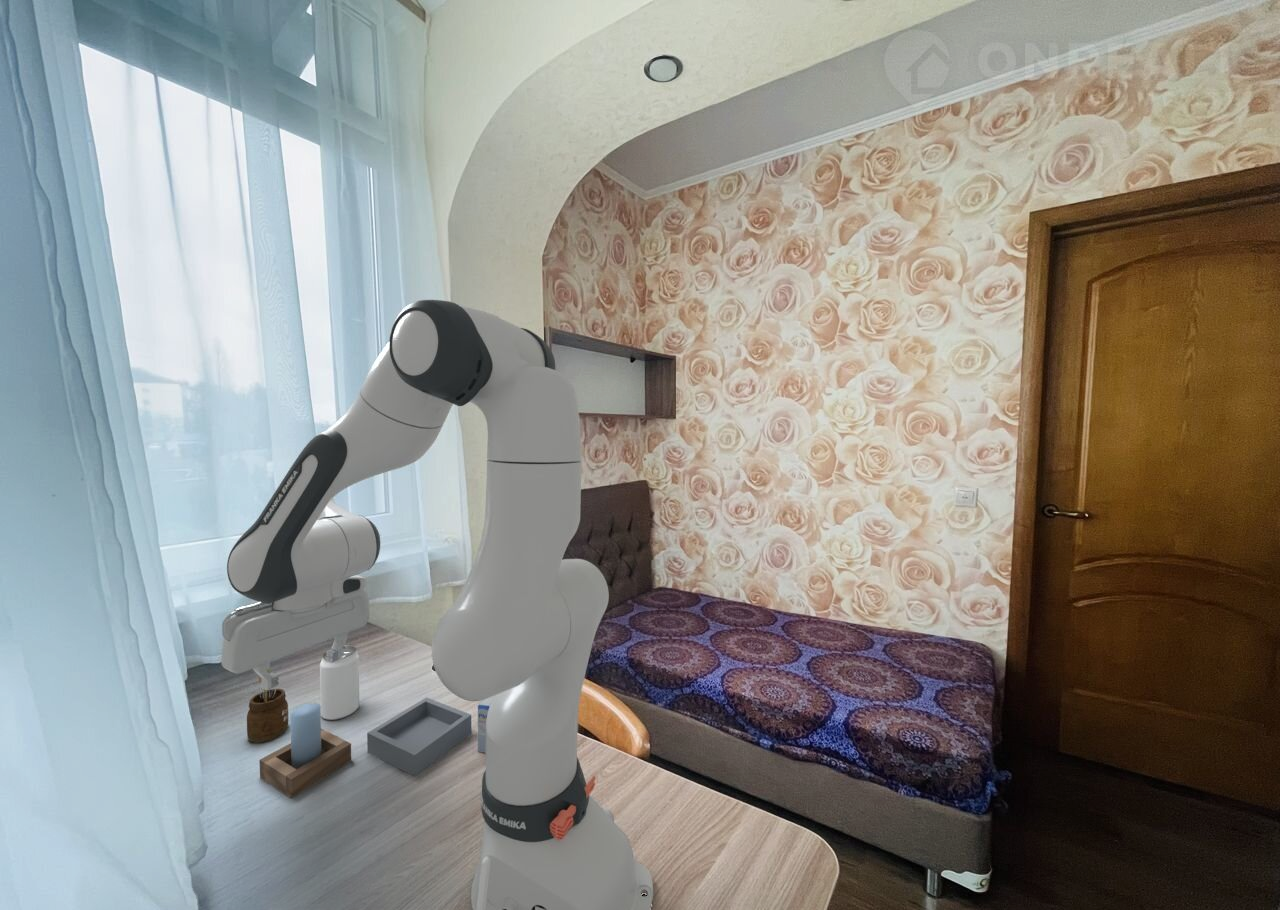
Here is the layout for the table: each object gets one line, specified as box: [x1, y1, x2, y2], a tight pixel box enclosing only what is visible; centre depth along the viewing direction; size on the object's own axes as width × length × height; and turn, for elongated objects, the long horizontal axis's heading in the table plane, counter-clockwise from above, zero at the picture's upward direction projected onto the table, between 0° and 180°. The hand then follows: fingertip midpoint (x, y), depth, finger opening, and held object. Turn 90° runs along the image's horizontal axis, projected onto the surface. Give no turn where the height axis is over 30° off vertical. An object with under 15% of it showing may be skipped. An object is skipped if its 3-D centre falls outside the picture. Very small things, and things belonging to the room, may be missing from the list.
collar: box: [259, 728, 352, 799], centre depth 75 cm, size 9×9×3 cm
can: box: [319, 645, 360, 721], centre depth 91 cm, size 6×6×12 cm
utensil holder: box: [246, 668, 289, 744], centre depth 84 cm, size 6×6×12 cm
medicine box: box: [477, 696, 495, 754], centre depth 83 cm, size 8×4×9 cm, turn 168°
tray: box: [366, 696, 472, 777], centre depth 82 cm, size 12×12×4 cm
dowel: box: [289, 702, 322, 769], centre depth 75 cm, size 4×4×10 cm
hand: (303, 673), depth 75 cm, fingers open, 8 cm apart
